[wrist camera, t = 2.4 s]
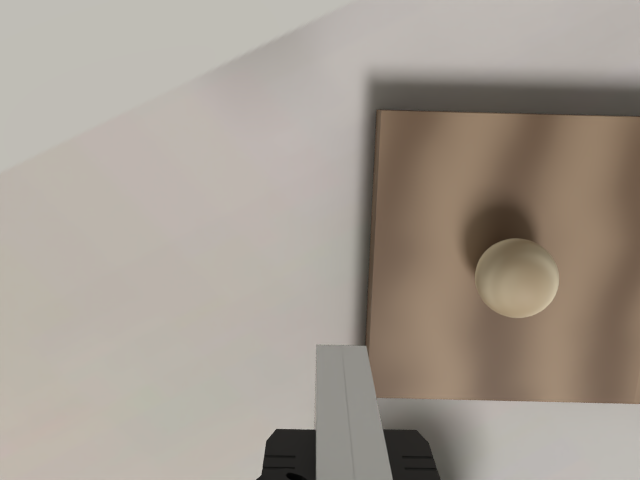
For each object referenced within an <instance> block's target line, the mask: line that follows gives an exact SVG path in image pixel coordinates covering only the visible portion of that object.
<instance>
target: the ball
mask: <svg viewBox="0 0 640 480" xmlns="http://www.w3.org/2000/svg"><path fill="white" fill-rule="evenodd" d="M475 284H476V288H477V291H478V293H479V295H480V297H481V299H482V300H483V302H484V303H485V304H486V305H487V306H488V307H489V308H490V309H492V310H493V311H495V312H497V313H499V314H501V315H503V316H507V317H511V318H524V317H529V316H533V315H535V314H537V313H539V312H541V311H542V310H544V309H545V308H546V307H547V306H548V305H549V304H550V303H551V302H552V300H553V299H554V297H555V295H556V292H557V290H558V285H559V273H558V268H557V265H556V263H555V261H554V259H553V258H552V256H551V255H550V254H549V253H548V252H547V251H546V250H545V249H544V248H543V247H542V246H540V245H539V244H537V243H535V242H532V241H530V240H526V239H519V238H512V239H506V240H503V241H500V242H498V243H496V244H494V245H492V246H491V247H489V248H488V249H487V250H486V251H485V252H484V253H483V255H482V256H481V258H480V259H479V261H478V264H477V267H476V271H475Z"/></svg>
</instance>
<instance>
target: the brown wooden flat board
mask: <svg viewBox="0 0 640 480" xmlns="http://www.w3.org/2000/svg"><path fill="white" fill-rule="evenodd" d="M512 238H519V239H526V240H530V241H532V242H535V243H537V244H539V245H540V246H542V247H543V248H544V249H545V250H546V251H547V252H548V253H549V254H550V255H551V256H552V258H553V259H554V261H555V263H556V265H557V268H558V273H559V285H558V290H557V292H556V295H555V297H554V299H553V300H552V302H551V303H550V304H549V305H548V306H547V307H546V308H545V309H544V310H542V311H541V312H539V313H537V314H535V315H533V316H529V317H524V318H511V317H507V316H503V315H501V314H499V313H497V312H495V311H493V310H492V309H490V308H489V307H488V306H487V305H486V304H485V303H484V302H483V300H482V299H481V297H480V295H479V293H478V291H477V288H476V284H475V271H476V267H477V264H478V261H479V259H480V258H481V256H482V255H483V253H484V252H485V251H486V250H487V249H488V248H489V247H491V246H492V245H494V244H496V243H498V242H500V241H503V240H506V239H512ZM365 346H366V347H367V352H368V357H369V362H370V367H371V372H372V377H373V382H374V387H375V392H376V398H412V399H454V400H496V401H539V402H581V403H623V404H640V116H607V115H568V114H529V113H490V112H451V111H412V110H377V112H376V133H375V154H374V174H373V195H372V216H371V237H370V258H369V278H368V299H367V320H366V341H365Z"/></svg>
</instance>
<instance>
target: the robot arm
mask: <svg viewBox="0 0 640 480" xmlns="http://www.w3.org/2000/svg"><path fill="white" fill-rule="evenodd" d="M256 480H440V477H439V474H438V471H437V468H436V465H435V462H434V459H433V455H432V452H431V449H430V446H429V443H428V442H427V441H426V440H425V439H424V438H423V437H422V436H421V435H420V433H419V432H418V431H417V430H383V428H382V423H381V418H380V413H379V408H378V403H377V398H376V392H375V387H374V382H373V377H372V372H371V367H370V362H369V357H368V352H367V347H366V346H350V345H316V381H315V420H314V430H300V429H276V430H275V431H274V433H273V434H272V435H271V436H270V437H269V439H268V440H267V441H266V447H265V454H264V461H263V470H262V475H261V476H260V477H259V478H258V479H256Z"/></svg>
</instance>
